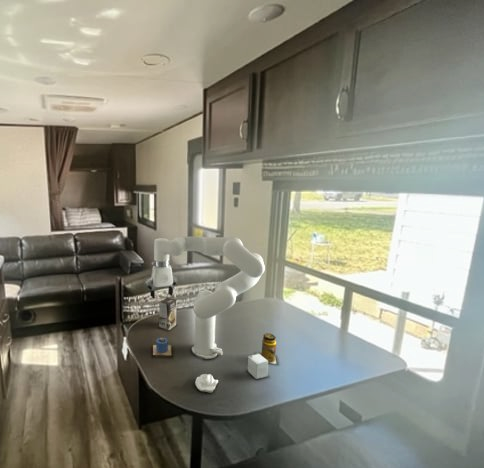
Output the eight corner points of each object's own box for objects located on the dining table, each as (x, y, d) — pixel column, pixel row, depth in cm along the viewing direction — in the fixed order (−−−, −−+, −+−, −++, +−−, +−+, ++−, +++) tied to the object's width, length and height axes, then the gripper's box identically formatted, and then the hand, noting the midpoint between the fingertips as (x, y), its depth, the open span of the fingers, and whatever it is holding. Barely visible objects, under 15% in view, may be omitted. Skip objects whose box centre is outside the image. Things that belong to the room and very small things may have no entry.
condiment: (276, 364, 138) (278, 340, 135) (257, 361, 140) (258, 337, 138) (274, 355, 144) (276, 332, 142) (256, 353, 147) (257, 330, 145)
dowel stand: (170, 347, 153) (170, 334, 152) (171, 357, 144) (171, 343, 143) (153, 346, 154) (153, 334, 152) (152, 357, 145) (152, 343, 144)
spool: (169, 348, 150) (169, 339, 149) (164, 354, 145) (164, 344, 144) (160, 345, 153) (160, 336, 152) (154, 350, 148) (154, 341, 147)
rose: (223, 381, 120) (201, 385, 117) (223, 391, 120) (201, 395, 118) (212, 367, 129) (191, 370, 127) (212, 376, 130) (191, 379, 128)
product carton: (267, 376, 129) (268, 361, 128) (255, 379, 127) (256, 363, 126) (258, 368, 135) (259, 353, 134) (247, 370, 133) (247, 355, 132)
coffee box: (168, 331, 170) (168, 304, 167) (158, 328, 173) (158, 301, 171) (176, 325, 177) (176, 299, 174) (167, 322, 181) (167, 296, 178)
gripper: (148, 267, 141) (148, 301, 144) (180, 263, 147) (180, 296, 150) (142, 263, 148) (143, 295, 151) (174, 259, 154) (174, 291, 157)
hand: (161, 296), depth 150 cm, fingers open, 9 cm apart
